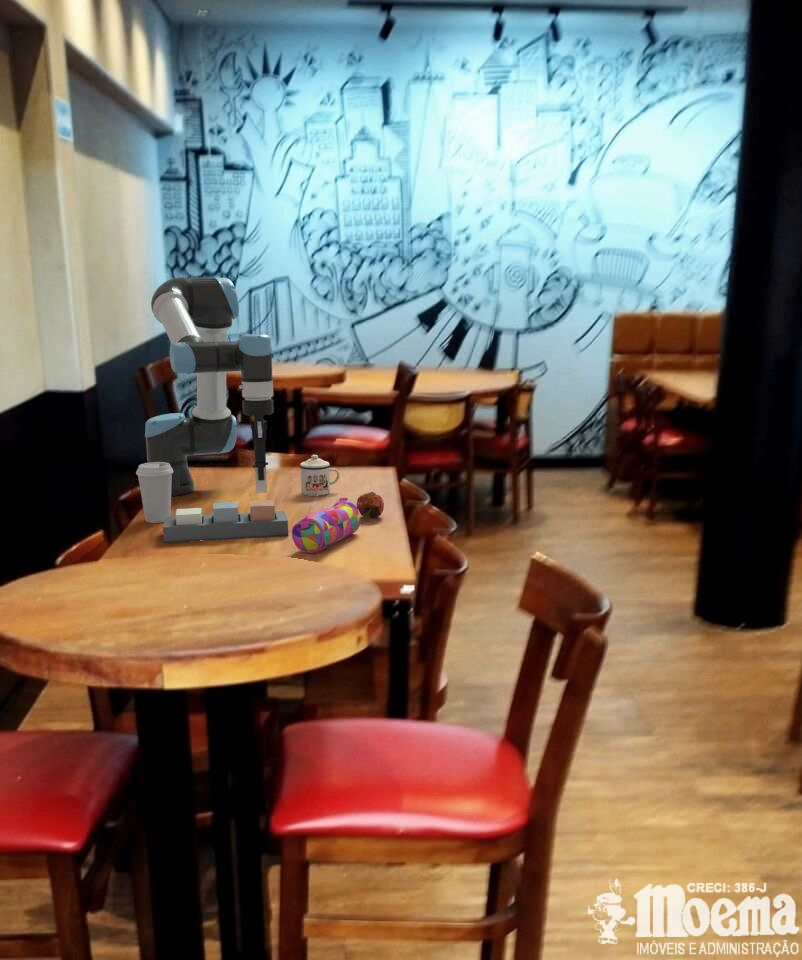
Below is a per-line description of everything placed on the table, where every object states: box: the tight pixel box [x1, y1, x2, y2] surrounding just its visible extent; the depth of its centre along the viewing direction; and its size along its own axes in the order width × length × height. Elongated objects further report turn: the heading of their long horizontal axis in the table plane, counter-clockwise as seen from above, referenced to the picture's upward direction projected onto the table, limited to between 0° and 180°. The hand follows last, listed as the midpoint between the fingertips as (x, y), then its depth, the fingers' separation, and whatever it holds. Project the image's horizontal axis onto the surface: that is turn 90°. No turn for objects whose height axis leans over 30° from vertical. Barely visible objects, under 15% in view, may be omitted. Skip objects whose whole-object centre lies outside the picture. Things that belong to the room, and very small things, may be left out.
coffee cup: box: [135, 462, 173, 524], centre depth 228 cm, size 10×10×15 cm
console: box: [162, 510, 289, 544], centre depth 216 cm, size 10×30×4 cm, turn 101°
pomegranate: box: [355, 491, 385, 522], centre depth 230 cm, size 7×7×10 cm
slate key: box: [212, 501, 239, 523], centre depth 215 cm, size 6×6×4 cm
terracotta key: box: [249, 499, 276, 521], centre depth 217 cm, size 6×6×4 cm
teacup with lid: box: [299, 454, 341, 497], centre depth 258 cm, size 12×9×12 cm
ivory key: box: [175, 507, 203, 525], centre depth 213 cm, size 6×6×4 cm
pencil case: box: [291, 497, 361, 554], centre depth 208 cm, size 22×9×9 cm, turn 160°
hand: (261, 491), depth 215 cm, fingers closed
